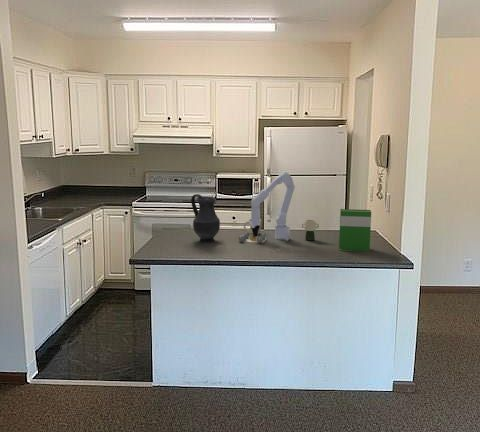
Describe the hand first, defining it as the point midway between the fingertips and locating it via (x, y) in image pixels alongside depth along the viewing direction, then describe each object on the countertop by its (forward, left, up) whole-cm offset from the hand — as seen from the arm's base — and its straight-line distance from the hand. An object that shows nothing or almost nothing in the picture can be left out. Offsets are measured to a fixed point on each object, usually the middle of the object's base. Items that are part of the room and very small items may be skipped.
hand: (255, 236), depth 329 cm
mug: (+6, -16, -2) cm, 17 cm away
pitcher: (+31, +13, -2) cm, 34 cm away
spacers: (0, +8, -2) cm, 8 cm away
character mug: (-35, -7, -2) cm, 36 cm away
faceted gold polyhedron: (0, +6, -1) cm, 6 cm away
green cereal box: (-64, +11, -2) cm, 65 cm away
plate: (0, +8, -2) cm, 8 cm away
